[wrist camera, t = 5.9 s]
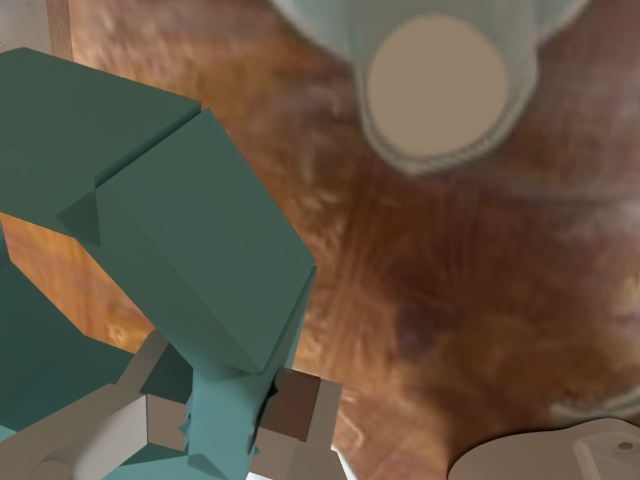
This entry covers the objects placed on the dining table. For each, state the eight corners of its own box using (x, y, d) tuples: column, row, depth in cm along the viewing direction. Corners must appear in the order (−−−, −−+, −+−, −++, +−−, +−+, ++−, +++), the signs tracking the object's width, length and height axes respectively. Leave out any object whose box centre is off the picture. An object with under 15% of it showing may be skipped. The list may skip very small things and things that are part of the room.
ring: (347, 147, 10) (292, 243, 7) (275, 434, 16) (230, 543, 13) (-102, 7, 11) (-301, 42, 8) (-6, 326, 17) (-100, 407, 15)
